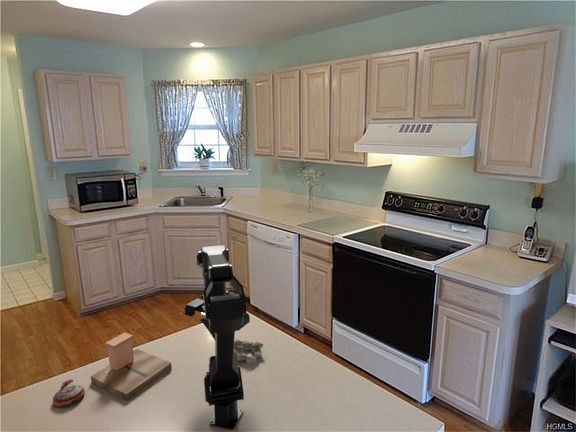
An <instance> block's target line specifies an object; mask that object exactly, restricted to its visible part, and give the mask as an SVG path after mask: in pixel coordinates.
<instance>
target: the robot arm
mask: <svg viewBox="0 0 576 432" xmlns="http://www.w3.org/2000/svg"><path fill="white" fill-rule="evenodd" d="M200 249H201V250H198V252H197V254H196V266H197V267H198V268H201V271H202V276H203V285H204V286H203V288H204V289H203V294H201V299H200V298H196V299H194V300H192V301H190V302H188V303H187V304H186V305H185V306H184V308H183V309H184V315H185V316H188V317H191V318H192V317H194V316H195V315H196V312H198V313H200V315H201V319H200V320H199V321H200V323H202V324H203V325H204V327H205V328H206V330H207V331H208V332H209V334H210V336H211V337H212V338H213V340H214V342H215V343H214V344H215V345H214V350H215V351H214V352H215V353H214V355H213V356H210V357H209V363H208V371H206V372H205V373H206V374H205V377H204V378H203V382H204V384H203V385H204V396H205V397H204V401H205V402H206V403H207V404H208V406H209V407H210V406H214V407H213V410H214V414H213V415H212V418H211V419H210V420H209V423H208V424H209V425H210V426H213V427H218V428H224V429H227V430H234V429H235V428H236V426H237V424H238V422H239V420H240V418H241V416H242V414H243V412H244V410H243V409H241V408H238V407H239V406H238V401H243V400H244V399H245V394H244V387H243V386H244V385H243V378H242V372H241V371H242V370H241V367H240V366H239V365H238V360H237V357H235V354H234V341H235V337H236V336H235V333H236V332H237V331H240V330H241V329H243V328H245V326H247V324H249V323H250V322H251V321H250V320H251V318H250V314H249V313H248V312H247V302H246V296H245V292H244V290H245V289H244V286H243V285H242V283H241V282H240V281H239V280H238V278H236V276H235V275H234V272H233V265H232V264H229V261H230V257H229V255H230V254H229V248H227V247H226V245H225V244H218V245H216V244H215V245H207V246H206V245H205V246H201V247H200ZM227 283H229V285H231V286H232V288H233V289H234V290H235V291H236V292H232V291H229V290H227V285H226V284H227Z"/></svg>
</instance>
